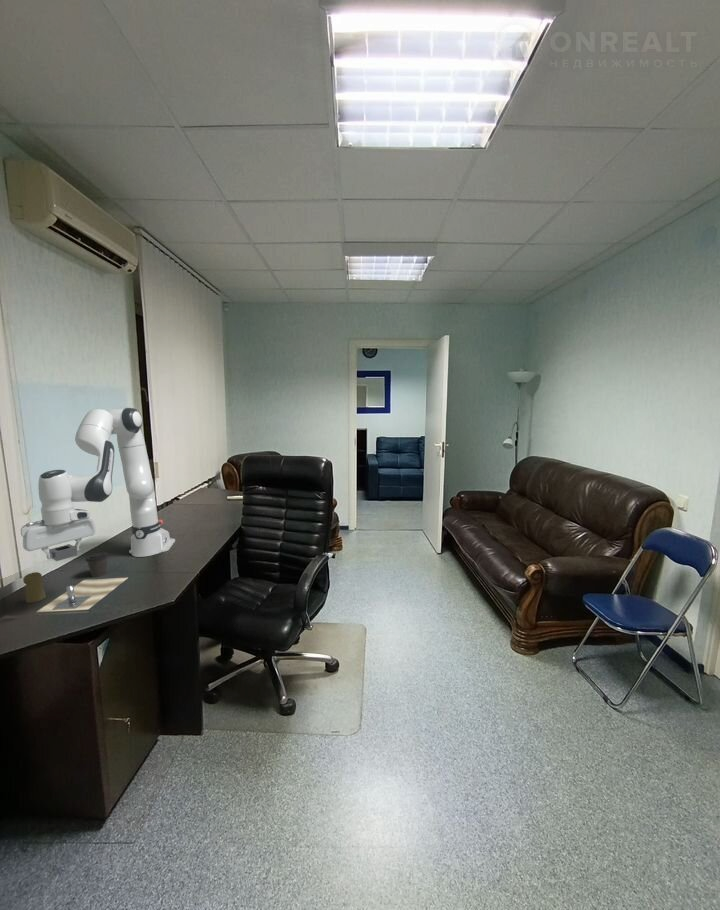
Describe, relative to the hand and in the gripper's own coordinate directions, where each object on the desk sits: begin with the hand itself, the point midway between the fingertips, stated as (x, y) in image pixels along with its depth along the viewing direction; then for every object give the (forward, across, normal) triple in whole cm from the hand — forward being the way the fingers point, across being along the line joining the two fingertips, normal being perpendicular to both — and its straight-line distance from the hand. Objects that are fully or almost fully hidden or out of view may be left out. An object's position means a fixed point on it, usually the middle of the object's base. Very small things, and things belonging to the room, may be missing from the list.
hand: (63, 554), depth 133 cm
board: (+20, +6, +4) cm, 21 cm away
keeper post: (+19, +1, 0) cm, 19 cm away
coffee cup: (+20, +17, +18) cm, 32 cm away
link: (+1, 0, 0) cm, 1 cm away
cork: (+20, -5, +16) cm, 26 cm away
